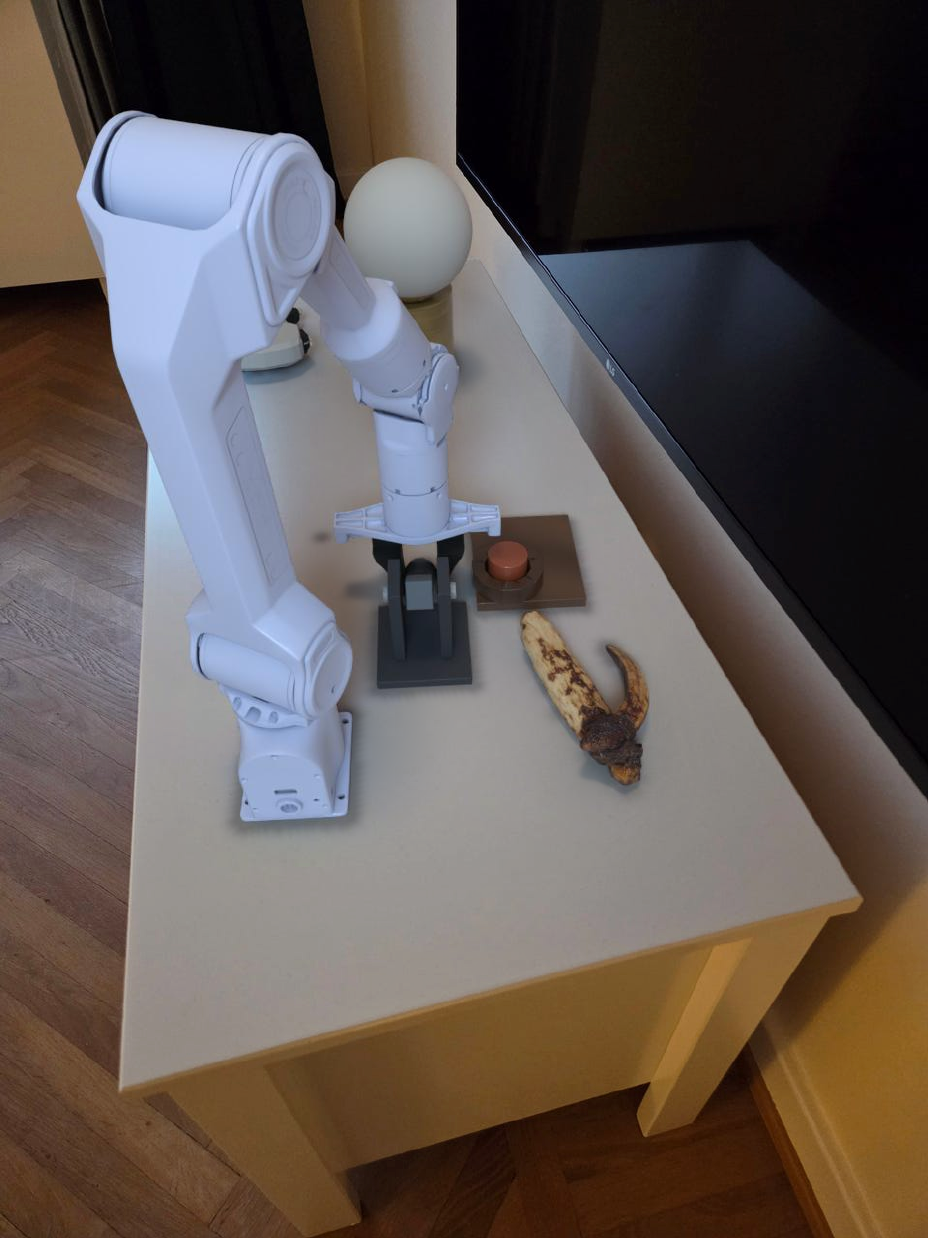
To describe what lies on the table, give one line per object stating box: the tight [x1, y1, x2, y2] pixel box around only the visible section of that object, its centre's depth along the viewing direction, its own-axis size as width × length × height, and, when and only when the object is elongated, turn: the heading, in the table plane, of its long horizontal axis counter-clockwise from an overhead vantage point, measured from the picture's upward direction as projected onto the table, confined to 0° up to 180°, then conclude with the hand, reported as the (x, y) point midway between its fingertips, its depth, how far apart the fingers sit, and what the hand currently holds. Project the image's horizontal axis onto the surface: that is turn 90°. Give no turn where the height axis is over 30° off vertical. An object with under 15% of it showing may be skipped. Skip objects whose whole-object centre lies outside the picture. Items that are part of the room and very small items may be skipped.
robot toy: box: [241, 307, 314, 372], centre depth 108 cm, size 12×4×15 cm
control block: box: [469, 514, 587, 612], centre depth 80 cm, size 12×10×3 cm
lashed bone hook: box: [520, 610, 650, 786], centre depth 68 cm, size 9×5×18 cm
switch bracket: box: [376, 556, 473, 690], centre depth 71 cm, size 9×8×9 cm
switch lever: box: [404, 557, 437, 610], centre depth 73 cm, size 11×3×3 cm
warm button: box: [488, 541, 528, 581], centre depth 76 cm, size 4×4×2 cm
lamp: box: [343, 156, 474, 357], centre depth 96 cm, size 15×14×25 cm
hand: (422, 590), depth 80 cm, fingers closed on switch lever, 3 cm apart
